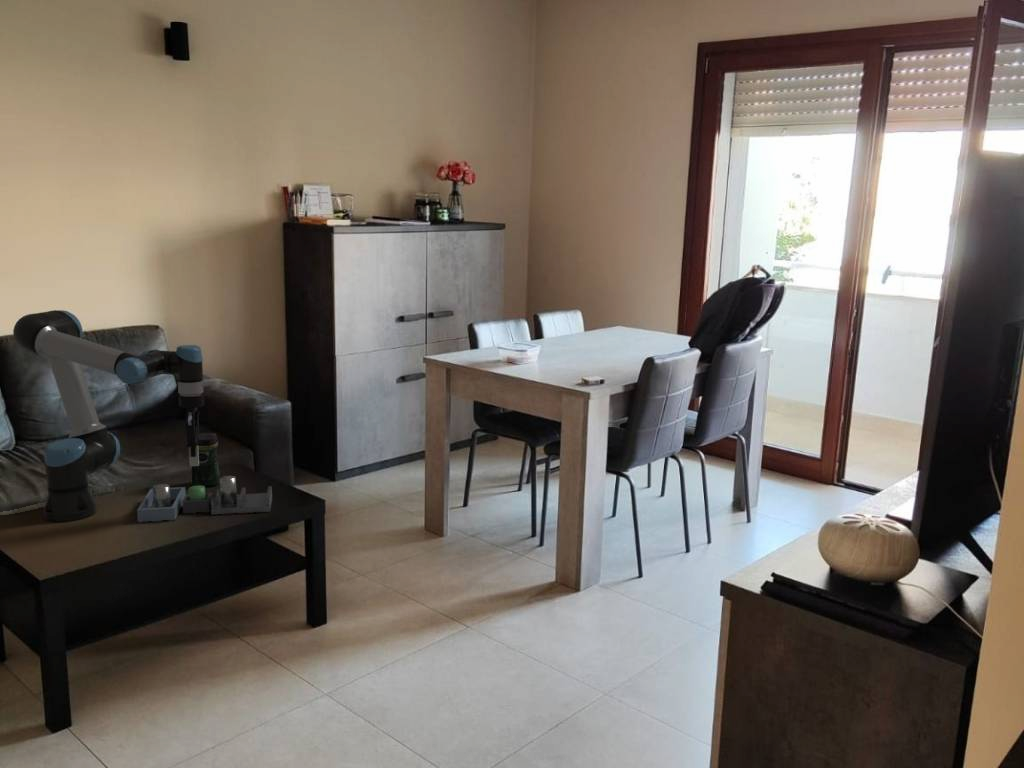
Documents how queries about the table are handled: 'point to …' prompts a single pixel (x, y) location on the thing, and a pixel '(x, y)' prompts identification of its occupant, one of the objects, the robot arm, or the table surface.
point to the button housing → (197, 504)
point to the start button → (197, 493)
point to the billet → (161, 496)
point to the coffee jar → (206, 462)
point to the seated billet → (228, 489)
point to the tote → (161, 513)
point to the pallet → (242, 503)
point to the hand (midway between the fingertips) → (194, 465)
